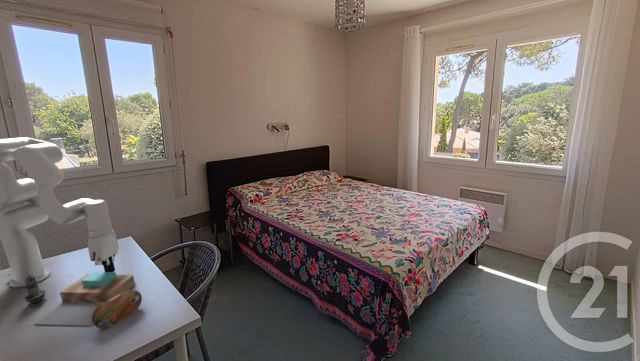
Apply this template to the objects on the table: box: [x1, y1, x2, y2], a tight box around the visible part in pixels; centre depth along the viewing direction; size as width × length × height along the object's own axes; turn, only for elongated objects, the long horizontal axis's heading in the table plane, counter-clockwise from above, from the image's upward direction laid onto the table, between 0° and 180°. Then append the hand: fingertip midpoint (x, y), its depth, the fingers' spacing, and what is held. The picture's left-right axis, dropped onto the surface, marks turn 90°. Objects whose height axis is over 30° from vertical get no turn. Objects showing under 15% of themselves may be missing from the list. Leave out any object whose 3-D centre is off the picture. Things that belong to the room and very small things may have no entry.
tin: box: [92, 289, 143, 330], centre depth 98 cm, size 15×3×8 cm, turn 154°
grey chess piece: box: [23, 275, 48, 309], centre depth 106 cm, size 6×6×12 cm
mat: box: [34, 302, 103, 327], centre depth 101 cm, size 20×11×1 cm, turn 86°
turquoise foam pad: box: [82, 271, 117, 286], centre depth 113 cm, size 9×6×2 cm, turn 86°
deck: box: [59, 274, 136, 303], centre depth 113 cm, size 20×12×4 cm, turn 86°
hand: (110, 272), depth 118 cm, fingers closed
